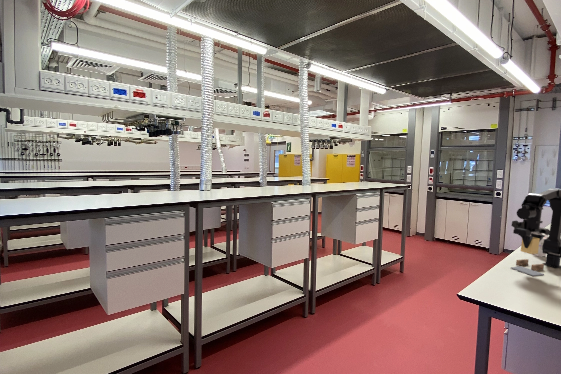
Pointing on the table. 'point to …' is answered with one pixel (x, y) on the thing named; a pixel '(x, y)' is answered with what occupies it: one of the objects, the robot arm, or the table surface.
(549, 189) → the robot arm
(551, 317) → the table surface
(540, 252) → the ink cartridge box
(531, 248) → the ochre block
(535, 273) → the slate pad
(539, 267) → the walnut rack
